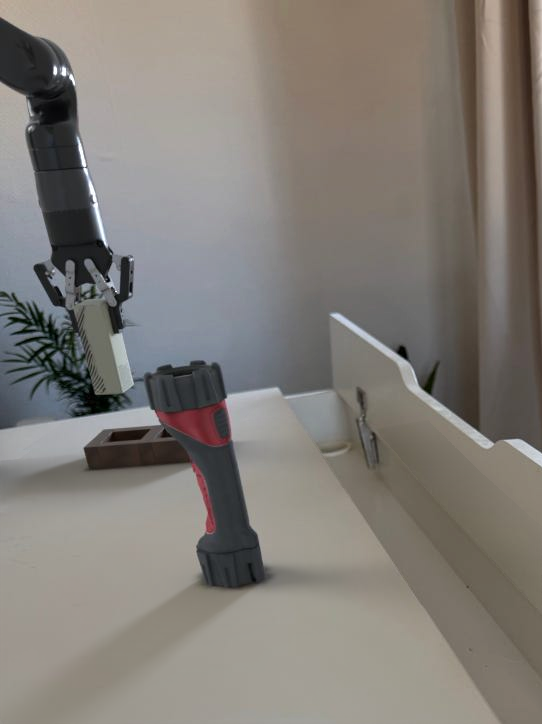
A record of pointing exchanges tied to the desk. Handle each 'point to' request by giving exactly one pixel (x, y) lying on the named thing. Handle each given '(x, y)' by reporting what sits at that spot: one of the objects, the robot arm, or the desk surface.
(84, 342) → the box
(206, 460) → the flashlight
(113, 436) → the socket block
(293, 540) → the desk surface
